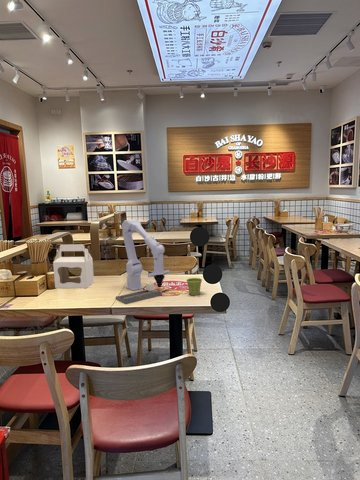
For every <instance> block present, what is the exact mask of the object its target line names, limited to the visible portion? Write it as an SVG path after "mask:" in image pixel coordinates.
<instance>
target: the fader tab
mask: <svg viewBox="0 0 360 480" xmlns="http://www.w3.org/2000/svg"><path fill="white" fill-rule="evenodd" d="M145 286H146V287H145V290H148V292H151V291H153V290H155V283H153V282H151V281H150V282H149V281H148V282H146V283H145ZM155 291H156V290H155Z"/></svg>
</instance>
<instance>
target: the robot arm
mask: <svg viewBox="0 0 360 480" xmlns="http://www.w3.org/2000/svg"><path fill="white" fill-rule="evenodd" d="M121 229H122V238H123V241H124V247H125V251H126V254H127V255H126V256H127V260H128V261H127V262H126V265H125V266H126V269H125V270H126V273H127V277H126V286H125V287H126V288H127V289H128V290H130V291H131V290H132V291H136V290H141V289H144V288H145V287H143V286H142V282H141V281H142V279H141V278H142V277H141V275H142V272H143V269H144V268H143V265H142V263H141V260H139V259H138V257H137V254H136V253H137V252H136V247H135V243H134V239H133V236H132V235H133V233H134V232H136V233H137V234H138V235H140V236H141V237H142V238H143V240H144V243H145V244H146V246H147V247H148V248H149V249H150V250H151V251H150V253H151V254H152V258H153V271H152V272H150V273H147V277H148V278H153V279H154V280H155V283H156V286H157V287H158V288H161V287H162V285H163V282H164V279H165V277H166V276H165V275H167V274H170V273H171V272H170V270H168V269H166V270H164V269H165V268H164V253H165V252H166V251H165V250H166V249H165V246H164V245H163V244H160V243H159V242H158V241H157V240H156V239H155V237H154V236H152V235H149V233H147V231H146V230H145V229H144V228H143V226H142V224H141V221H139V220H138V219H137V218H134V219H124V221H122V223H121Z"/></svg>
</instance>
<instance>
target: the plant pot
mask: <svg viewBox="0 0 360 480" xmlns="http://www.w3.org/2000/svg"><path fill="white" fill-rule="evenodd" d="M185 281H186V283H187V286H188V294H189V295H190V296H198V295H200V294H201V286H202V281H203V279H202V278H200V277H191V278H187V279H186V280H185Z"/></svg>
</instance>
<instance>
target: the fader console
mask: <svg viewBox="0 0 360 480" xmlns="http://www.w3.org/2000/svg"><path fill="white" fill-rule="evenodd" d="M161 296H163V293H162V292H160V291H158V290H153V291H151V292H148V290H146V289H143V290H139V291H135V292H130V293H127V294H121V295H118V296H115V300H116V301H119V302H120V303H123V304H124V305H128V304H133V303H137V302H142V301H145V300H148V299H153V298H156V297H161Z"/></svg>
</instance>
